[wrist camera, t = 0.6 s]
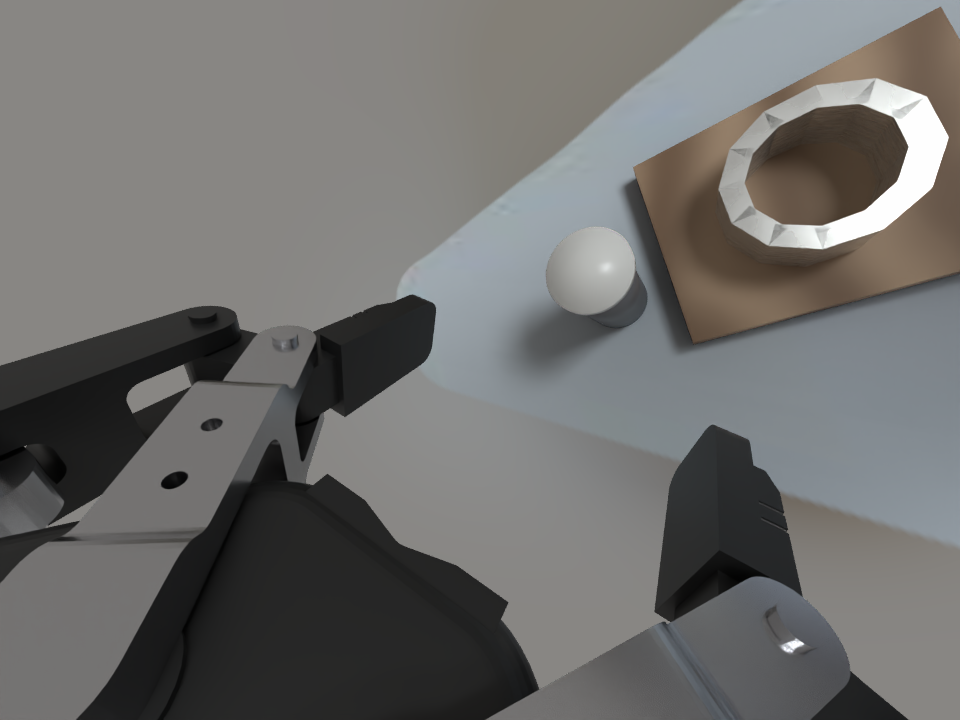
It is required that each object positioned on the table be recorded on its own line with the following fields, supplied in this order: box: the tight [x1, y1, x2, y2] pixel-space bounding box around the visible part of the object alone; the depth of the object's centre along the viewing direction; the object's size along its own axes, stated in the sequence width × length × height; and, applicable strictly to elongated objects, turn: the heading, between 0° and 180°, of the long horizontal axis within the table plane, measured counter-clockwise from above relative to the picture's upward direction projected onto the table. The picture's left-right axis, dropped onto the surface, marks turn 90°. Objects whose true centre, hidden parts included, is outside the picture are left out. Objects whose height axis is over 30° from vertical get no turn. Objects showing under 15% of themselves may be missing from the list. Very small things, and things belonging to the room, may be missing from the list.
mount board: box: [633, 7, 960, 345], centre depth 22 cm, size 16×14×2 cm
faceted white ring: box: [715, 78, 948, 267], centre depth 20 cm, size 9×9×4 cm
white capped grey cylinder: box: [546, 227, 647, 328], centre depth 25 cm, size 5×5×10 cm
